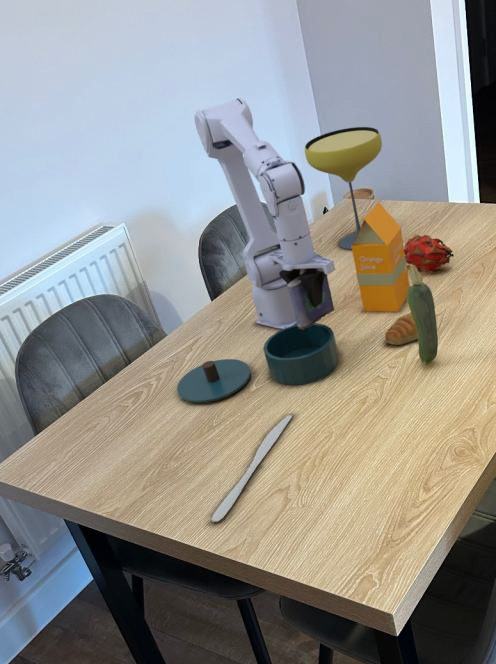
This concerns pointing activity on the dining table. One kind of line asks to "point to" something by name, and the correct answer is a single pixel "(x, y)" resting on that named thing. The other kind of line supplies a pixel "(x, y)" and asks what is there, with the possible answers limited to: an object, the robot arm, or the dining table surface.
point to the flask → (309, 302)
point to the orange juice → (380, 262)
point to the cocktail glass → (344, 158)
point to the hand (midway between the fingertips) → (310, 303)
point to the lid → (213, 380)
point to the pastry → (402, 331)
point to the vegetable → (423, 315)
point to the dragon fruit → (427, 253)
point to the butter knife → (250, 469)
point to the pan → (301, 354)
